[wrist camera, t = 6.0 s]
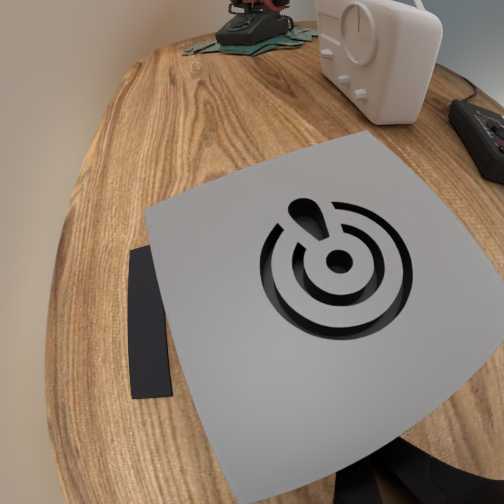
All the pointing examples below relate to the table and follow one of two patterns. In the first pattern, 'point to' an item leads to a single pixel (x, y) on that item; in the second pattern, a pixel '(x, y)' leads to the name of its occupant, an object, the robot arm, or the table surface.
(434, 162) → the table surface
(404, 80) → the radio
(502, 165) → the multimeter
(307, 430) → the icon cube
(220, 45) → the telephone
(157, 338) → the felt mark
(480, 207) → the table surface
